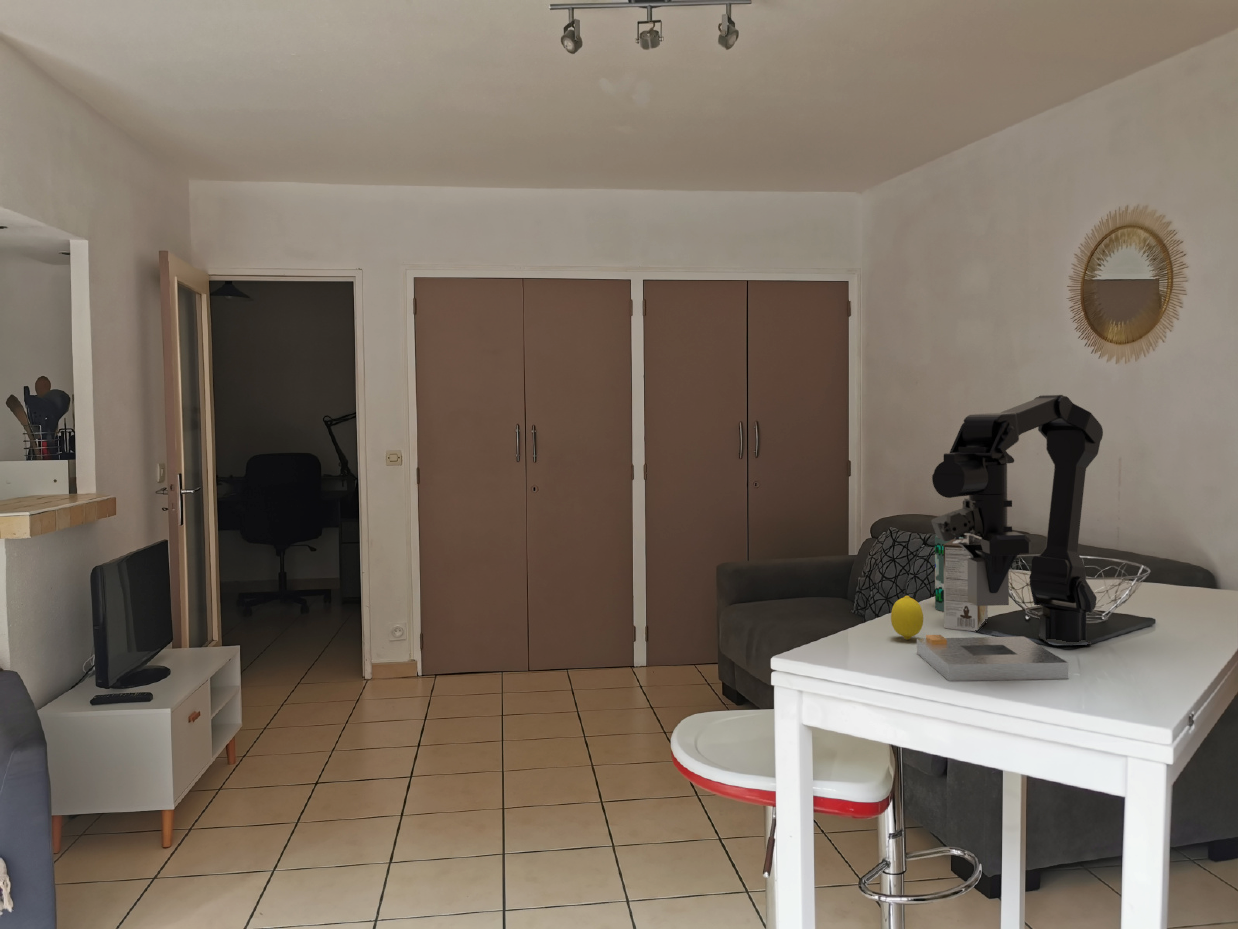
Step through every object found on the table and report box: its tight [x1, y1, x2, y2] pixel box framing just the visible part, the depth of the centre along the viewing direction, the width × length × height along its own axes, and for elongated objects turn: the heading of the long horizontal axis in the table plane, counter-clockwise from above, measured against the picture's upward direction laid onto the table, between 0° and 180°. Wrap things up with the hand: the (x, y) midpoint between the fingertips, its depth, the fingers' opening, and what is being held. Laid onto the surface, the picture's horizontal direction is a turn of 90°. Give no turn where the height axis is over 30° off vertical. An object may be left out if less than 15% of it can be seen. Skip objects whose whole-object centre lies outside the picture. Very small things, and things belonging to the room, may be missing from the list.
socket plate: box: [916, 634, 1069, 682], centre depth 146 cm, size 18×16×3 cm
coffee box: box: [943, 539, 989, 632], centre depth 172 cm, size 9×6×16 cm
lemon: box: [890, 595, 924, 641], centre depth 163 cm, size 6×6×8 cm
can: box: [934, 535, 963, 612], centre depth 186 cm, size 6×6×15 cm
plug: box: [968, 558, 1010, 607], centre depth 145 cm, size 5×4×7 cm
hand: (988, 590), depth 145 cm, fingers closed on plug, 4 cm apart
